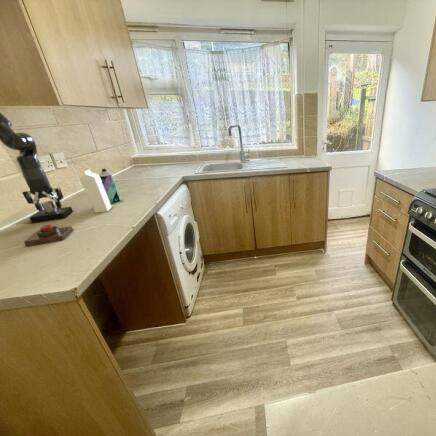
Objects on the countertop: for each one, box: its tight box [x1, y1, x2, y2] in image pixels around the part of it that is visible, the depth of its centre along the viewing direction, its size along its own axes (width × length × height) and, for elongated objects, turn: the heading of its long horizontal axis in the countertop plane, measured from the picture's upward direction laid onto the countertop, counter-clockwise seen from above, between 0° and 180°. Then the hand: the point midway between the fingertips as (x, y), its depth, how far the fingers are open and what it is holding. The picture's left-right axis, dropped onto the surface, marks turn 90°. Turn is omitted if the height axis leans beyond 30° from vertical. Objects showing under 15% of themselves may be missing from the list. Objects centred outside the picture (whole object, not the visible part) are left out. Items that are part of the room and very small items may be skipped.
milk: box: [80, 168, 112, 214], centre depth 126 cm, size 6×6×22 cm
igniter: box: [23, 225, 74, 248], centre depth 102 cm, size 12×10×4 cm
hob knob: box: [40, 200, 57, 213], centre depth 122 cm, size 4×4×5 cm
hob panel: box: [29, 206, 74, 224], centre depth 124 cm, size 13×10×3 cm
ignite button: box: [39, 224, 53, 232], centre depth 101 cm, size 4×4×2 cm
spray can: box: [98, 168, 122, 204], centre depth 138 cm, size 6×6×20 cm
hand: (50, 209), depth 123 cm, fingers open, 7 cm apart
